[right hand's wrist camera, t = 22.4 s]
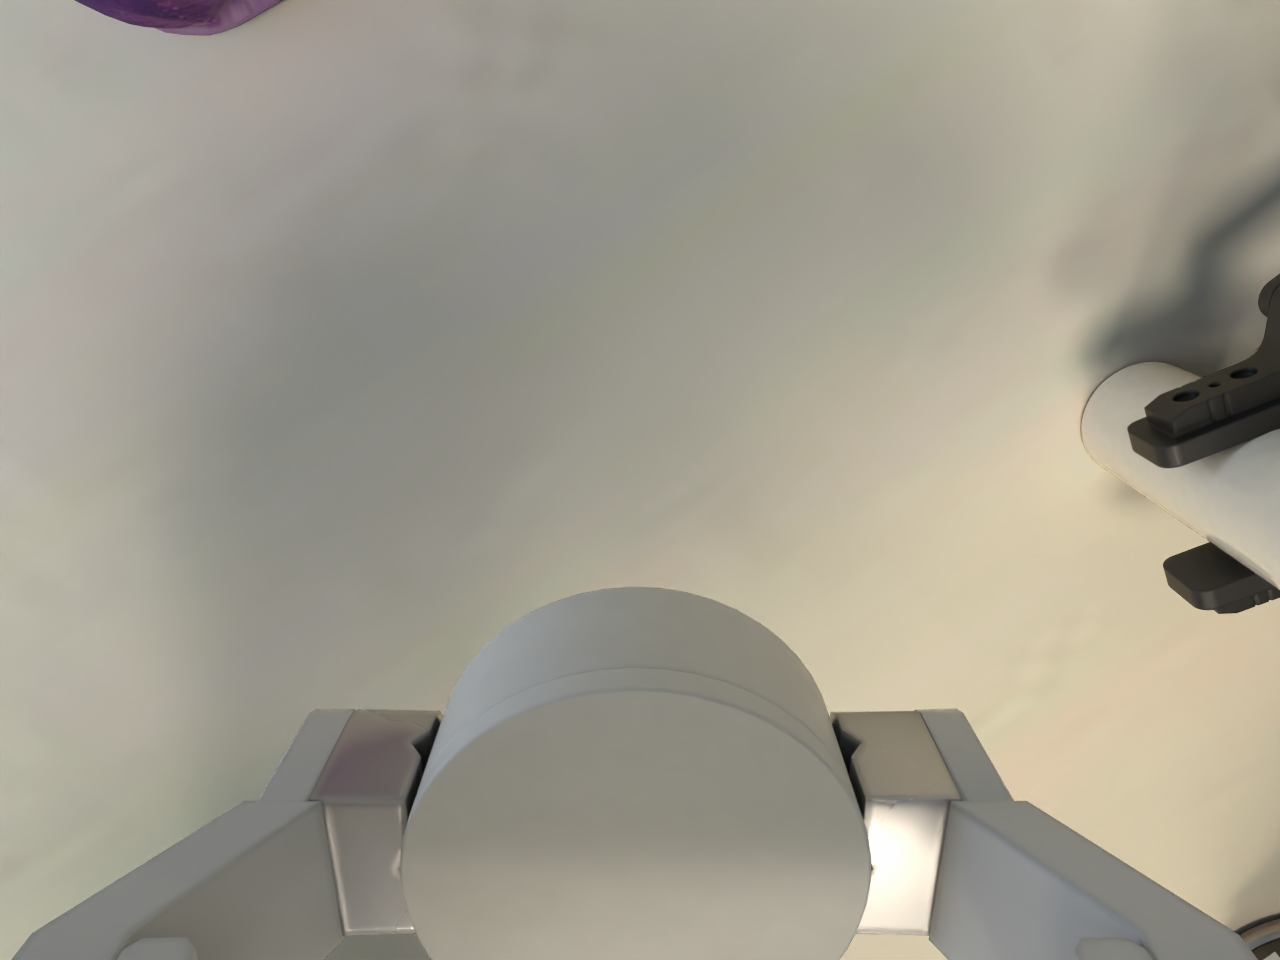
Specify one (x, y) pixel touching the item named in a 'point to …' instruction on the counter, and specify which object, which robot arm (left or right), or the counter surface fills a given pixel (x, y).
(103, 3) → the figurine
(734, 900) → the lid
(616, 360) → the counter surface
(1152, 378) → the cream cylinder
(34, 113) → the counter surface
